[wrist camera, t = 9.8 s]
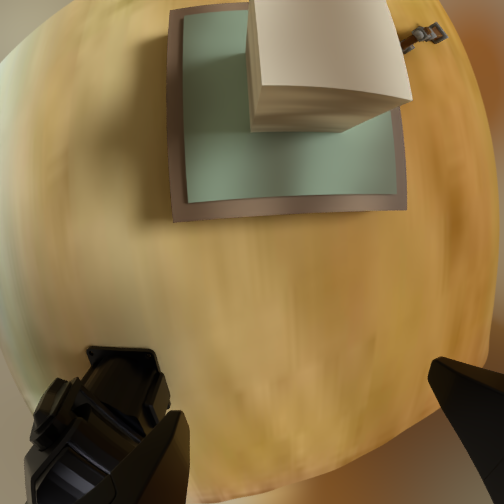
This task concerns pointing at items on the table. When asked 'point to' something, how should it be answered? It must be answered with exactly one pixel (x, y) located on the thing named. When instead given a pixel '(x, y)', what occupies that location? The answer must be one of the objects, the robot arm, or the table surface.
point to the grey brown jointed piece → (423, 36)
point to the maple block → (322, 64)
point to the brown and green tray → (261, 137)
